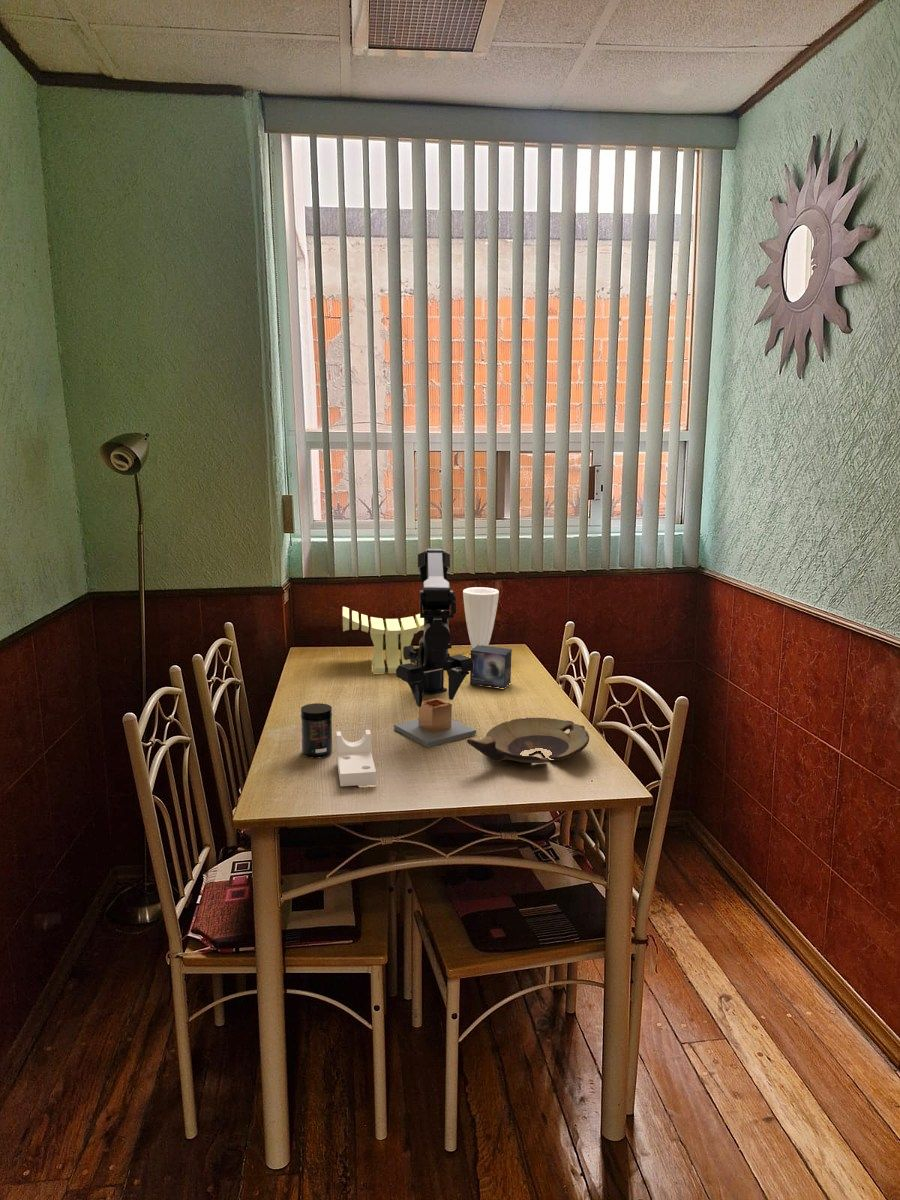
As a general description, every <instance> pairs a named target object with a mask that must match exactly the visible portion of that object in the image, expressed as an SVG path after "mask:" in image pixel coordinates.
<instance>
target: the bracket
mask: <svg viewBox="0 0 900 1200" xmlns="http://www.w3.org/2000/svg"><path fill="white" fill-rule="evenodd" d="M371 733H372V732H371V730H370V729H365V731H364V735H363V736H362V737H361V738H360V739H359V740H357V741H348V740H346V739H345V738H344V737H343V735H342V732H341V731H335V734H336V736H335V739H336V741H335V742H336V743H335V744H336V765H337V773H338V778H339V785H340V787H351V786H357V787H358V786H367V785H376V786H377V770H376V765H375V761H374V759H373V755H372V754H373V753H372V734H371Z"/></svg>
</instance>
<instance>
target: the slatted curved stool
mask: <svg viewBox="0 0 900 1200" xmlns="http://www.w3.org/2000/svg"><path fill="white" fill-rule="evenodd" d="M442 611H444V610H442ZM360 615H361V616H360V619H359V612H358V611H356V610H351V620H350V608H349V607H346V606H342V632H345V631H349V630H350V629H352V630H353V631H354V630H358V631H359V628H360V630H361V631H362V632H365V633H367V634H369V632H370V639H371V641H372V644H373V647H374V651H373V652H374V653H373V655H372V658H371V661H372V666H373V673H385V674H388V673H396V669H397V667H398V666H399V665H403V664H409V663H411V662H410V659H409V660H405V659H404V656H403V648H404V647H405V646H411V644H412V641H413V639H414V636H415V634H418V632H420V631H424V618H420V613H418V614H415V617H414V615H413V616H407V617H401V618H400V619H399V618H385V619H383V618H381V617H374V616H370V619H369V618H368V615H366V614H363V613H361V614H360ZM352 630H351V631H352ZM384 635H385V637H384ZM399 635H400V636H399ZM399 637H400V639H399ZM384 639H385V641H384ZM384 651H385V659H384ZM399 652H400V653H399ZM399 655H400V656H399ZM401 662H402V664H401ZM385 664H387V665H386V666H385ZM412 664H413V663H412Z"/></svg>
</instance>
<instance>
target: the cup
mask: <svg viewBox="0 0 900 1200" xmlns="http://www.w3.org/2000/svg"><path fill="white" fill-rule="evenodd" d="M462 596H463V607H464V615H465V622H466V628H467V633H468V637H469V641H470V642H469V643H470V646H471V650H472V649H473V648H475V647H476V646H477V645H483V646H490V645H489V644H490V642H491V638H492V634H493V630H494V626H495V620H496V615H497V610H498V603H499V597H500V591H499V590H498V589H496V588H492V587H483V586H482V587H481V586H479V587H478V586H477V587H476V586H475V587H467V588H465V589H463V590H462ZM469 655H471V653H470V654H469Z"/></svg>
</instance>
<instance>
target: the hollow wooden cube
mask: <svg viewBox="0 0 900 1200" xmlns="http://www.w3.org/2000/svg"><path fill="white" fill-rule="evenodd" d="M452 706H453V705H452V703H450V702H448V701H446V700H443V699H441V698H439V697H436V698H431V699H428V700H422V704H421V707H418V719H419V727H421V728H423V729H425V730H427V731H429V732H431V733H435V732H439V731H443V730H447V729H451V721H452V719H453V718H452V713H453V712H452V711H453V707H452Z"/></svg>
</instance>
